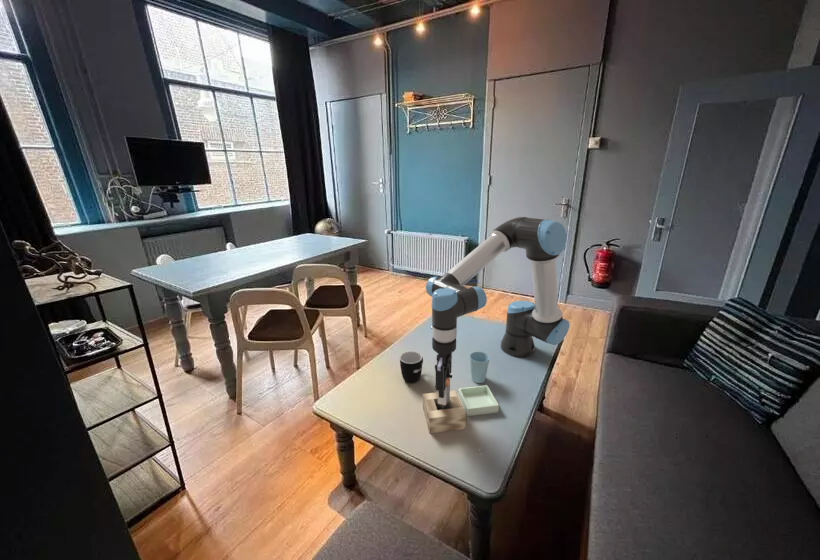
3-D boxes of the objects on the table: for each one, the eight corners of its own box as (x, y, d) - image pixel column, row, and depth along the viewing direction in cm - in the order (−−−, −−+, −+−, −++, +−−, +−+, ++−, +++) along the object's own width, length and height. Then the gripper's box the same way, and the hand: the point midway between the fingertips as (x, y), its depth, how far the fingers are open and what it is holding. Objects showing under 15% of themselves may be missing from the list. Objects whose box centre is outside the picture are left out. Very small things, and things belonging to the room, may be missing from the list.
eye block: (455, 404, 118) (455, 390, 116) (465, 428, 107) (465, 413, 105) (422, 407, 117) (422, 393, 115) (429, 433, 105) (429, 418, 103)
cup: (467, 373, 135) (468, 351, 132) (485, 373, 135) (487, 351, 132) (470, 385, 128) (471, 362, 125) (489, 384, 128) (491, 361, 125)
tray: (486, 391, 124) (487, 385, 123) (498, 412, 114) (498, 405, 113) (458, 395, 123) (458, 388, 122) (467, 416, 112) (467, 408, 111)
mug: (413, 388, 127) (413, 366, 124) (396, 380, 132) (395, 358, 129) (431, 373, 136) (431, 352, 133) (414, 366, 141) (413, 345, 138)
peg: (445, 409, 114) (445, 374, 109) (451, 416, 111) (452, 380, 106) (435, 413, 112) (435, 378, 107) (442, 420, 109) (442, 384, 104)
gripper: (439, 323, 110) (439, 381, 118) (424, 349, 95) (425, 413, 103) (461, 326, 108) (460, 385, 116) (449, 353, 93) (448, 419, 100)
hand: (443, 399), depth 109 cm, fingers closed on peg, 4 cm apart
